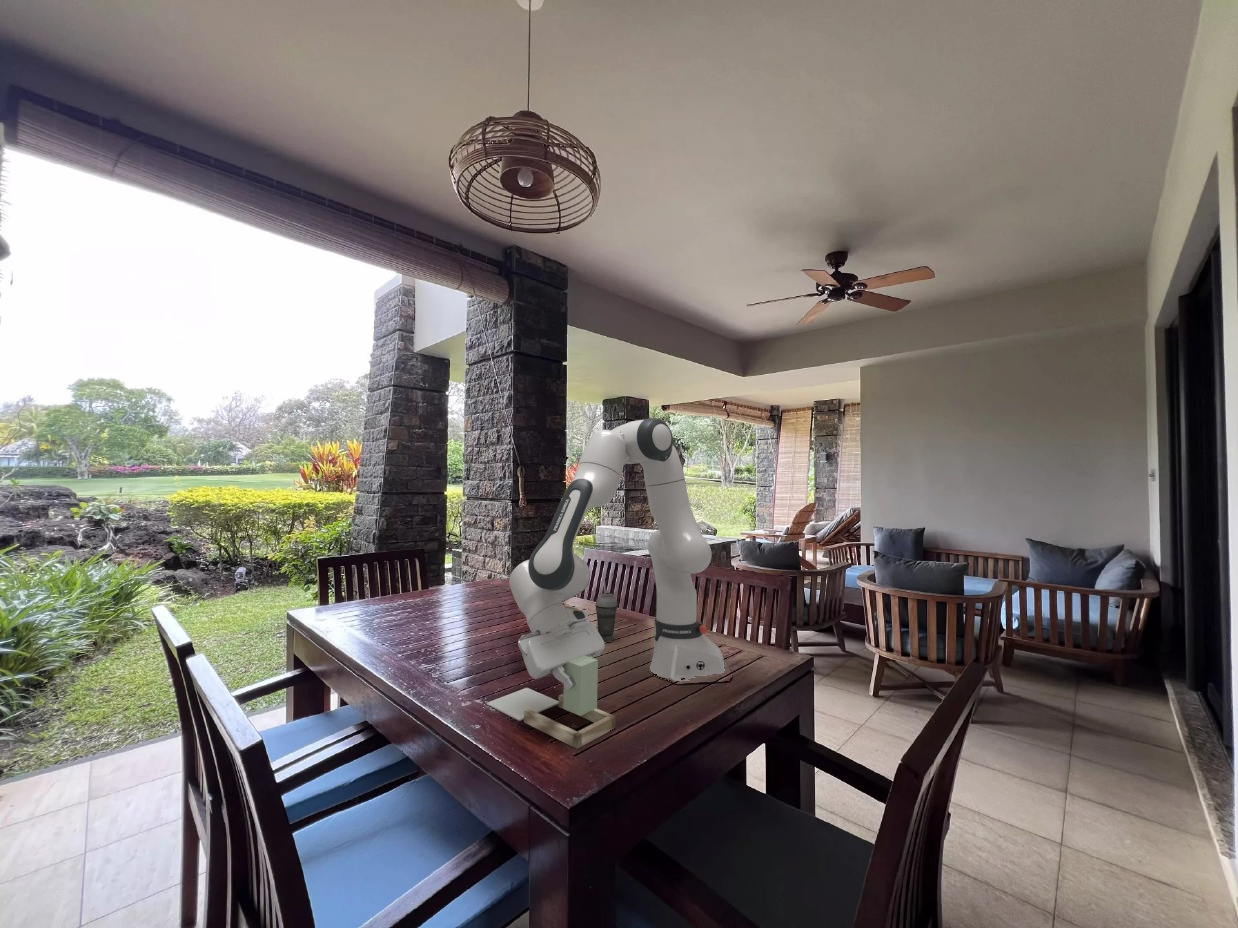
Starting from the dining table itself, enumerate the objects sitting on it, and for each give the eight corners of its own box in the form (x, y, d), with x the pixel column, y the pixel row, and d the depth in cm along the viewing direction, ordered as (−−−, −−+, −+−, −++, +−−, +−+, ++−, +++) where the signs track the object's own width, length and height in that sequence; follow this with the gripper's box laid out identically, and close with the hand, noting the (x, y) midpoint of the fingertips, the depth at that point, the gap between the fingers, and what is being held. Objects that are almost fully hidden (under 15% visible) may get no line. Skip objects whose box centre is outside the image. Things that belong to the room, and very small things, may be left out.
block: (563, 708, 107) (564, 660, 107) (580, 700, 111) (580, 654, 111) (580, 715, 104) (581, 666, 104) (597, 707, 108) (597, 659, 108)
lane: (523, 721, 110) (524, 710, 110) (562, 704, 119) (562, 694, 119) (577, 748, 100) (577, 735, 100) (615, 727, 108) (615, 716, 108)
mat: (486, 704, 118) (486, 702, 118) (526, 688, 127) (526, 687, 127) (519, 720, 110) (519, 719, 110) (560, 703, 120) (560, 701, 120)
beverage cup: (608, 646, 161) (610, 582, 162) (589, 641, 165) (591, 579, 166) (620, 640, 167) (622, 579, 168) (602, 636, 171) (603, 576, 172)
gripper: (521, 628, 104) (553, 690, 98) (590, 609, 120) (621, 661, 113) (507, 645, 107) (537, 706, 101) (576, 625, 123) (606, 676, 116)
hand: (582, 682), depth 107 cm, fingers closed on block, 5 cm apart
